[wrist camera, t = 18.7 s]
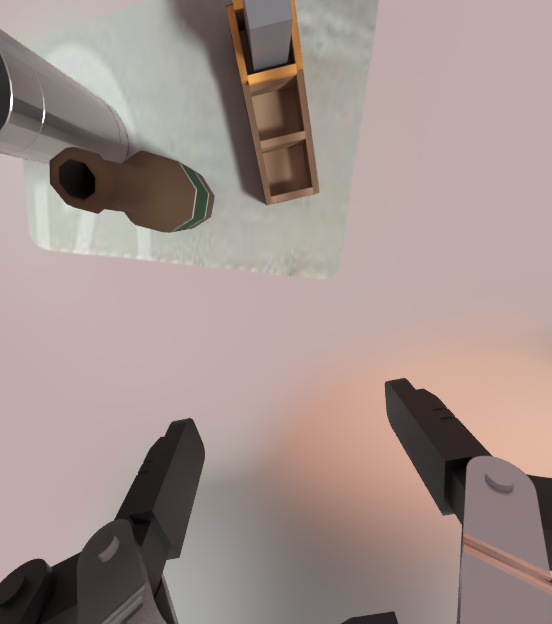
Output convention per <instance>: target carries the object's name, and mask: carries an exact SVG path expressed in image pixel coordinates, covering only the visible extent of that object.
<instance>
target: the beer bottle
mask: <svg viewBox="0 0 552 624" xmlns="http://www.w3.org/2000/svg"><path fill="white" fill-rule="evenodd" d="M49 162H50V184H51V185H52V187H53V188H54V189H55V190H56V192H57V193H58V194H59V195H60V197H61V198H62V199H63V200H64V202H65V203H66V204H68V205H70V206H72V207H75V208H78V209H82V210H86V211H90V212H94V213H97V214H98V213H100V212H101V211H102V210H104V209H107V210H115V211H122V212H125V214H126V215H127V217H128V218H129V219H130V221H132V222H133V223H134V224H135V225H138V226H142V227H145V228H149V229H153V230H157V231H161V232H169V233H171V232H176V231H181V230H186V229H192V228H194V227H196V226H198V225H199V224H201V223H202V222H204V221H205V220H207V219H208V218H210V217H211V214H212V208H213V202H214V195H213V193H212V191H211V190H210V188H209V186H208V185H207V183H206V181H205V180H204V178H203V177H202V176H201V175H200V174H199V173H197V172H195V171H194V170H192V169H190V168H188V167H187V166H185V165H183V164H182V163H180V162H178V161H175V160H172V159H168V158H165V157H162V156H158V155H155V154H151V153H148V152H145V151H139V152H137V153H135V154H134V155H133V156H131V157H130V158H128V159H127V160H126V161H124V162H123V163H117V162H113V161H108V160H104V159H103V158H102V157H101V155H100V154H98V153H94V152H91V151H87V150H84V149H80V148H77V147H69V148H65V149H64V150H62V151H61V152H60V153H58V154H57V155H56V156H55V157H53V158H52V159H51V160H49Z"/></svg>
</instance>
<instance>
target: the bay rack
mask: <svg viewBox="0 0 552 624" xmlns="http://www.w3.org/2000/svg"><path fill="white" fill-rule="evenodd" d="M232 2H233V4H230V5H226V9H227V14H228V19H229V24H230V29H231V34H232V39H233V44H234V49H235V54H236V59H237V63H238V68H239V73H240V78H241V83H242V88H243V93H244V97H245V102H246V107H247V112H248V117H249V122H250V127H251V131H252V136H253V141H254V146H255V151H256V156H257V161H258V166H259V170H260V175H261V180H262V185H263V190H264V195H265V200H266V204H267V205H270V204H275V203H279V202H283V201H288V200H292V199H297V198H301V197H305V196H310V195H314V194H317V193H319V185H318V177H317V170H316V162H315V155H314V148H313V140H312V133H311V125H310V118H309V111H308V103H307V96H306V88H305V81H304V74H303V60H302V52H301V45H300V37H299V30H298V22H297V15H296V7H295V0H291V6H292V14H293V23H292V31H291V39H290V46H289V54H288V62H287V66H284V67H280V68H276V69H272V70H268V71H264V72H260V73H256V74H253V69H252V63H251V58H250V53H249V48H248V43H247V36H246V28H245V20H244V11H243V3H242V0H232Z"/></svg>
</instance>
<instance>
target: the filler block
mask: <svg viewBox="0 0 552 624" xmlns="http://www.w3.org/2000/svg"><path fill="white" fill-rule="evenodd" d="M242 3H243V11H244V20H245V28H246V36H247V43H248V48H249V53H250V58H251V63H252V69H253V74H256V73H260V72H264V71H268V70H272V69H276V68H280V67H284V66H287V62H288V54H289V46H290V39H291V31H292V23H293V14H292V6H291V0H242Z"/></svg>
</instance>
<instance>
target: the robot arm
mask: <svg viewBox="0 0 552 624" xmlns="http://www.w3.org/2000/svg"><path fill="white" fill-rule="evenodd" d="M69 147H77V148H80V149H84V150H87V151H91V152H94V153H98V154H100V155H101V157H102V158H103V159H104V160H108V161H113V162H117V163H123V162H124V161H125V159H126V156H127V153H128V136H127V133H126V129H125V127H124V124H123V122H122V120H121V118H120V117H119V115H118V114H117V112H116V111H115V110H114V109H113V108H112V107H111V106H110V105H109V104H107V103H106V102H105V101H103V100H102V99H100V98H99V97H97V96H96V95H95V94H93V93H92V92H90V91H89V90H88V89H86V88H85V87H83V86H82V85H80V84H79V83H77V82H76V81H75V80H73V79H72V78H70V77H69V76H67V75H66V74H64V73H63V72H62V71H60V70H59V69H57V68H56V67H54V66H53V65H51V64H50V63H48V62H47V61H46V60H44V59H43V58H41V57H40V56H38V55H37V54H35V53H34V52H33V51H31V50H30V49H28V48H27V47H25V46H24V45H22V44H21V43H20V42H18V41H17V40H15V39H14V38H12V37H11V36H9V35H8V34H6V33H5V32H4V31H2V30H1V29H0V153H2V154H6V155H11V156H14V157H19V158H23V159H27V160H32V161H36V162H41V163H45V164H50V162H49V160H51V159H52V158H53V157H55V156H56V155H57V154H58V153H60V152H61V151H62V150H64V149H65V148H69ZM385 396H386V409H387V416H388V419H389V422H390V425H391V427H392V429H393V430H394V432H395V433H396V436H397V437H398V439H399V441H400V443H401V444H402V446H403V448H404V449H405V451H406V453H407V455H408V456H409V458H410V460H411V461H412V463H413V465H414V467H415V468H416V470H417V472H418V474H419V475H420V477H421V478H422V480H423V482H424V484H425V486H426V487H427V489H428V490H429V492H430V494H431V496H432V498H433V499H434V501H435V503H436V504H437V506H438V508H439V510H440V511H441V513H442V515H443V516H444V515H450V514H455V515H456V516H457V518H458V519H459V521H460V523H461V524H462V536H461V554H460V573H459V593H458V609H457V624H552V578H551V575H550V570H551V571H552V478H546V477H538V476H532V475H527V474H525V473H524V472H523V471H521V470H520V469H519V468H517V467H516V466H514V465H512V464H511V463H509V462H507V461H505V460H502V459H499V458H496V457H493V456H492V455H491V454H490V453H489V452H488V451H487V450H486V449H485V448H484V447H483V446H482V445H481V443H480V442H479V441H478V440H477V439H476V438H475V437H474V436H473V435H472V434H471V433H470V432H469V430H467V428H466V427H465V426H464V425H463V424H462V423H461V422H460V421H459V420H458V419H457V418H455V416H454V414H453V413H452V412H451V411H450V410H449V409H447V407H446V406H445V405H444V404H443V402H442V401H441V400H440V399H439V398H438V397H437V396H435V395H434V394H432V393H430V392H428V391H427V390H425V389H419V390H416V389H415V388H414V387H413V386H412V385H411V383H410V382H409V381H408V380H407V379H405V378H402V379H397V380H392V381H386V382H385ZM204 458H205V450H204V445H203V442H202V440H201V437H200V435H199V433H198V430H197V428H196V426H195V423H194V421H193V419H191V418H188V419H183V420H178V421H173V422H172V423H171V424H170V426H169V428H168V430H167V432H166V435H165V436H164V437H160V438H159V439H158V440H157V441H156V443H155V444H154V445H153V446H152V447H151V448H150V450H149V452H148V454H147V456H146V458H145V460H144V463H143V464H142V466H141V468H140V470H139V472H138V475H137V476H136V478H135V480H134V482H133V484H132V485H131V488H130V489H129V491H128V493H127V496H126V498H125V500H124V501H123V503H122V505H121V507H120V509H119V511H118V513H117V515H116V518H115V519H114V521H112V522H110V523H108V524H106V525H105V526H103V527H102V528H101V529H99V530H98V531H97V532H96V533H95V534H94V535H93V536H92V537H91V538H90V540H89V541H88V542H87V544H86V545H85V547H84V548H83V550H82V552H80V553H78V554H76V555H74V556H72V557H70V558H68V559H66V560H64V561H62V562H60V563H58V564H56V565H54V566H52V567H50V566H49V565H48V564H47V563H46V562H45V561H44V560H43V559H34V560H31V561H28V562H26V563H25V564H23V565H21V566H19V567H18V568H17V569H15V570H14V571H13V572H11V573H10V574H9V575H8V576H7V577H6V578H5V579H4V580H3V581H2V582H1V583H0V624H178V620H177V617H176V614H175V610H174V607H173V604H172V600H171V597H170V594H169V590H168V587H167V584H166V580H165V577H164V575H163V569H164V566H165V563H166V560H169V559H175V558H179V557H180V553H181V549H182V545H183V541H184V538H185V534H186V529H187V526H188V522H189V518H190V514H191V511H192V507H193V503H194V499H195V495H196V491H197V487H198V483H199V479H200V475H201V472H202V468H203V464H204ZM342 624H398V622H397V619H396V616H395V612H387V613H380V614H374V615H367V616H361V617H353V618H350V619H348V620H347V621H345V622H343V623H342Z"/></svg>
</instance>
